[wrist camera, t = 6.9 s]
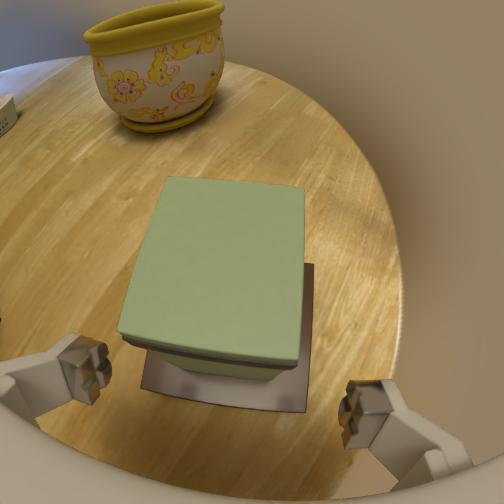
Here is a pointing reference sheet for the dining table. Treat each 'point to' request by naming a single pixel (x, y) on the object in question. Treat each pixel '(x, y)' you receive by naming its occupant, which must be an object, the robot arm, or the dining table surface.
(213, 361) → the block
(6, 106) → the food container
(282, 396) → the brown square tile
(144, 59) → the flowerpot
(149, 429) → the dining table surface
